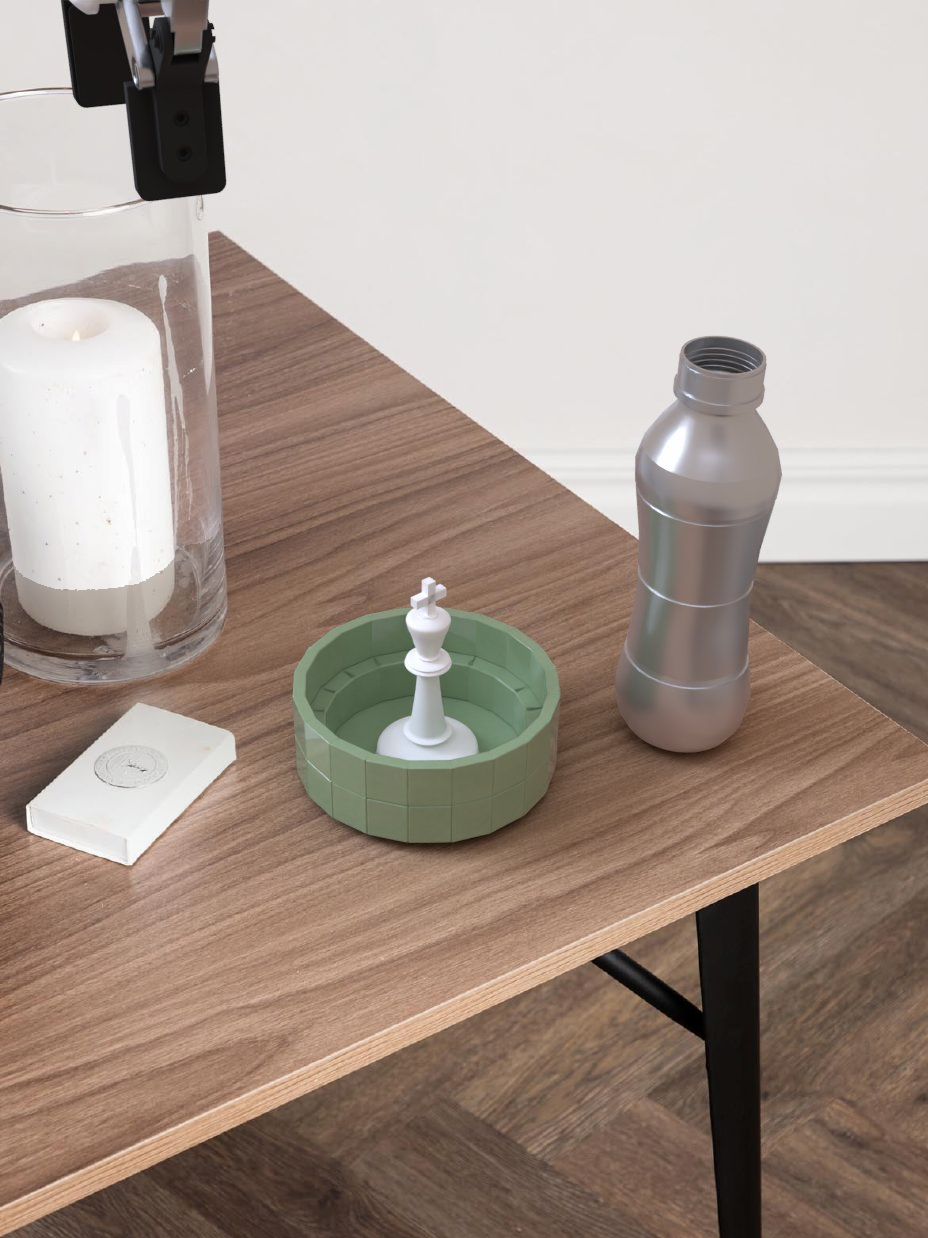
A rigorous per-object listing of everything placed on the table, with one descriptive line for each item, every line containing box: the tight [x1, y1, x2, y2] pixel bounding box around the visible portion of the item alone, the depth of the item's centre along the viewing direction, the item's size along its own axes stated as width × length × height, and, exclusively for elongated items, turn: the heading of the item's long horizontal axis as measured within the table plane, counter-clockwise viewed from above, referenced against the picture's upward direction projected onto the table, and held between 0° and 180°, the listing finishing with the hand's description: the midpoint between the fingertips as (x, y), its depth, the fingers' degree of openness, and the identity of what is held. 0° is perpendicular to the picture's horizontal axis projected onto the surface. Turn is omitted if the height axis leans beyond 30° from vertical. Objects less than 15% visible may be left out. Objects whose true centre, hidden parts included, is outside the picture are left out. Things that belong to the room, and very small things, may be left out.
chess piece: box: [376, 576, 479, 760], centre depth 78 cm, size 5×5×10 cm
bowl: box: [292, 606, 562, 844], centre depth 80 cm, size 12×12×5 cm
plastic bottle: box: [614, 335, 783, 754], centre depth 78 cm, size 6×7×20 cm
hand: (147, 145), depth 65 cm, fingers open, 9 cm apart
